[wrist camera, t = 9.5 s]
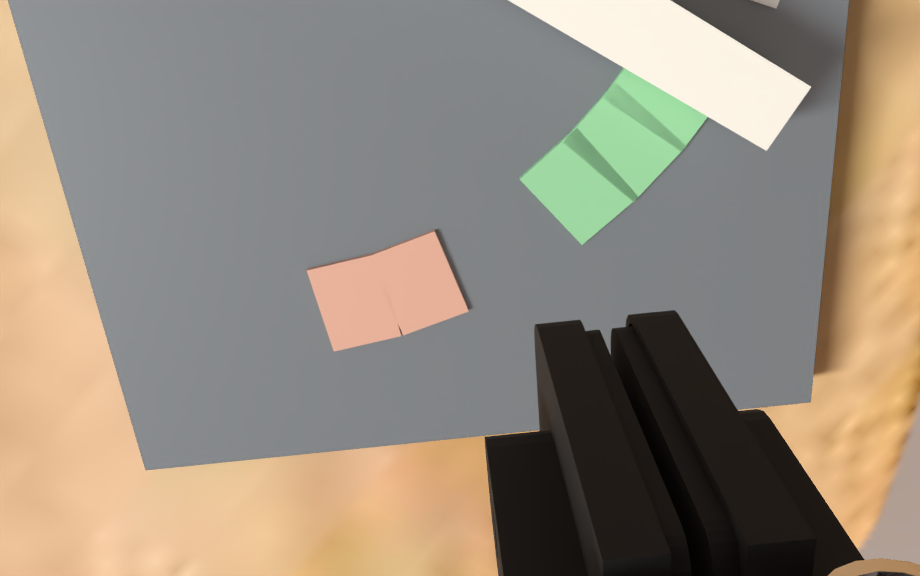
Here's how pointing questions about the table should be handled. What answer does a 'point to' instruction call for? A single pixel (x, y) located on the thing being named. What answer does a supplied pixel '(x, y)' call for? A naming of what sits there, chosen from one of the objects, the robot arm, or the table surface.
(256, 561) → the table surface
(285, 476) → the table surface
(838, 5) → the dial board
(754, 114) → the pointer
